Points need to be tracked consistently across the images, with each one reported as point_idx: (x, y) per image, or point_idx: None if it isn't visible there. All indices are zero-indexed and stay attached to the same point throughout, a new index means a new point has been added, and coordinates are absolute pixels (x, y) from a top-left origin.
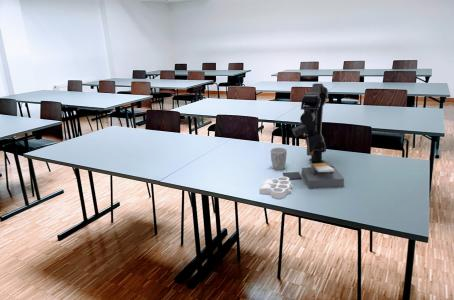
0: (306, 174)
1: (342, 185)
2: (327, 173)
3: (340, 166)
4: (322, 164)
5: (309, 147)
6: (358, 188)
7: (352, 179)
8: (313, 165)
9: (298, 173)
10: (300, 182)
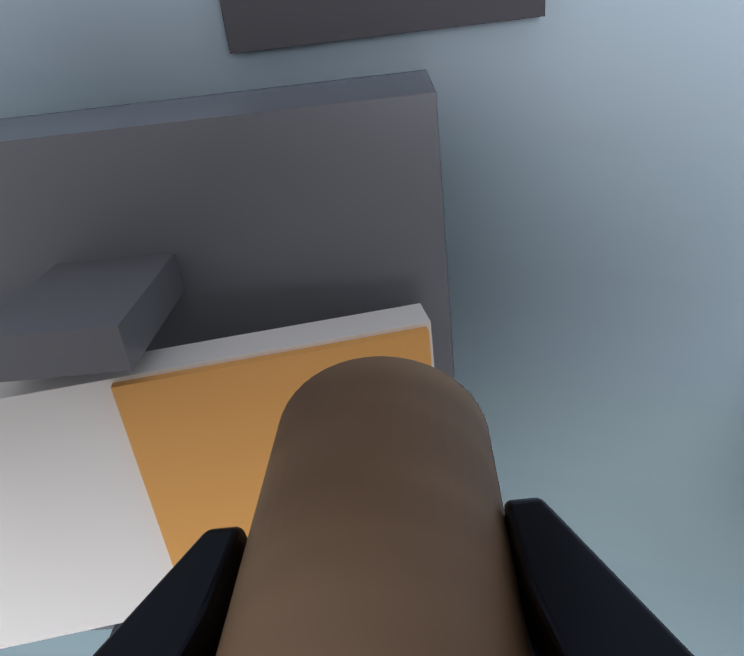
0: (46, 155)
1: None
2: None
3: (676, 617)
4: None
5: None
6: (40, 647)
7: None
8: (222, 366)
9: (458, 7)
10: (83, 11)
